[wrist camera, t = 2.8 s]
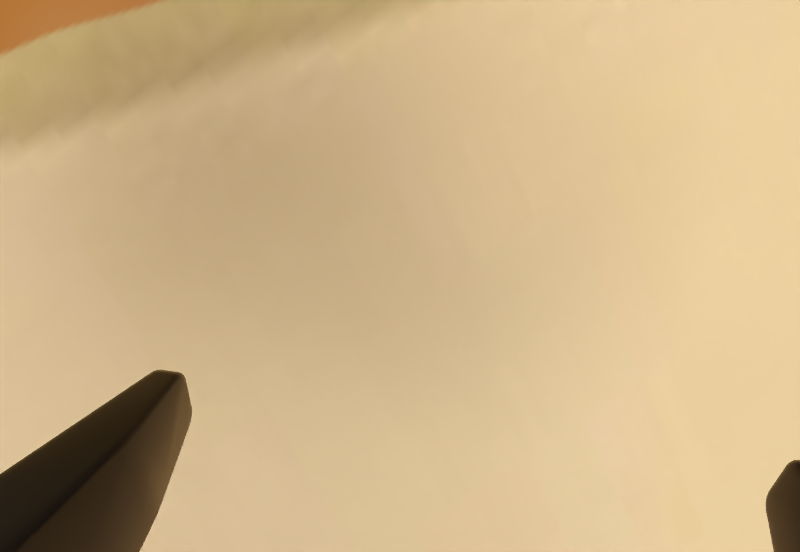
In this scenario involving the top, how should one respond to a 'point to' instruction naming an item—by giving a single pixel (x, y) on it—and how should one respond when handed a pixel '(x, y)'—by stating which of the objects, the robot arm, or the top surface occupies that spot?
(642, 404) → the top surface
